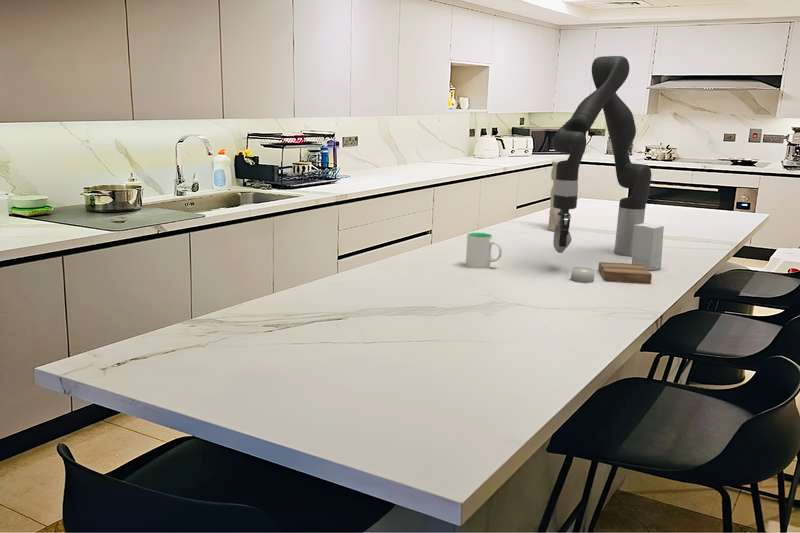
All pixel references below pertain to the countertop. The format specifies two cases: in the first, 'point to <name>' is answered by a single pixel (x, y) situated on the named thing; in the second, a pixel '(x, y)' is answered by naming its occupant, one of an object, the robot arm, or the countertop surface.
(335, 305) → the countertop surface
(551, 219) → the beige tall lumpy column
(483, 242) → the mug
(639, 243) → the skincare box
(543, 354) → the countertop surface
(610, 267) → the walnut block
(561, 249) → the grey rock
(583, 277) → the pale grey round piece
